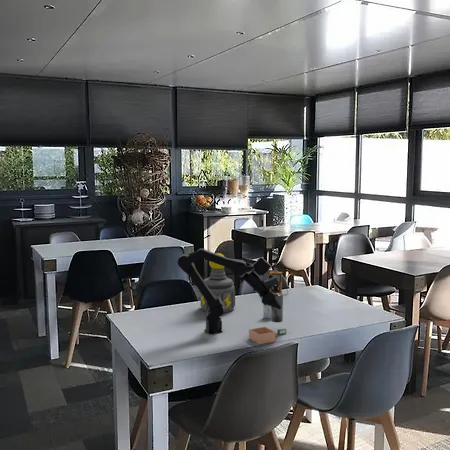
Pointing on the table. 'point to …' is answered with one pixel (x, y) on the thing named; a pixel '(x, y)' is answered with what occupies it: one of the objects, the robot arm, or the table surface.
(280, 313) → the cell
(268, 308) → the medicine box
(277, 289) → the multimeter
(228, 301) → the decorative lamp
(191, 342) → the table surface
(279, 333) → the checker pad
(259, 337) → the cup
